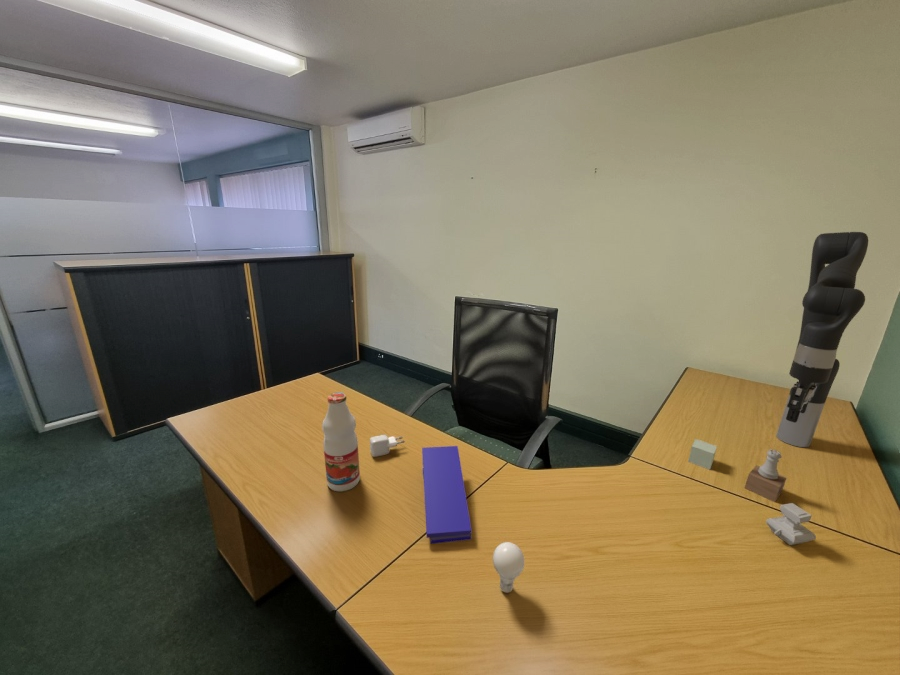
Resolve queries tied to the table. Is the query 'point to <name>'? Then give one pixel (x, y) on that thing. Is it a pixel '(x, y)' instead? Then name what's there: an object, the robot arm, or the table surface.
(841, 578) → the table surface
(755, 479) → the walnut block
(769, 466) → the rook chess piece
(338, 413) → the fruit juice
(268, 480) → the table surface
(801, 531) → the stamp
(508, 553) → the lightbulb
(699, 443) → the sage block
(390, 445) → the power adapter
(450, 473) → the purple rectangular block
